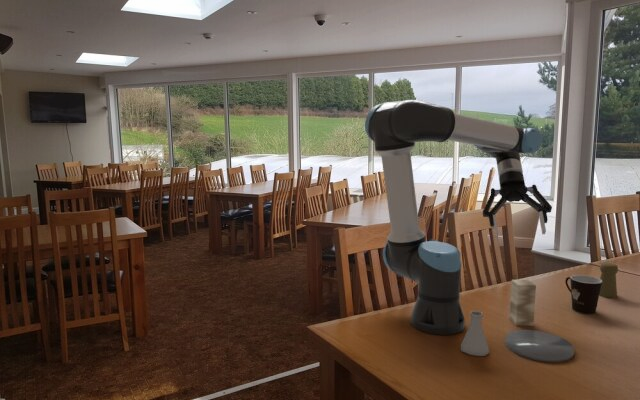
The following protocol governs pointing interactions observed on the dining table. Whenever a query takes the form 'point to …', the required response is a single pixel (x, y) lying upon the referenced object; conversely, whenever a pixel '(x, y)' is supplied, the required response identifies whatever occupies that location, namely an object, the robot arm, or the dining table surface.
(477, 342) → the flask
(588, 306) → the coffee mug
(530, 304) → the birch block
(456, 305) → the robot arm
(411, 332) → the dining table surface
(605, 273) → the cork
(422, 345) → the dining table surface
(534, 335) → the plate
